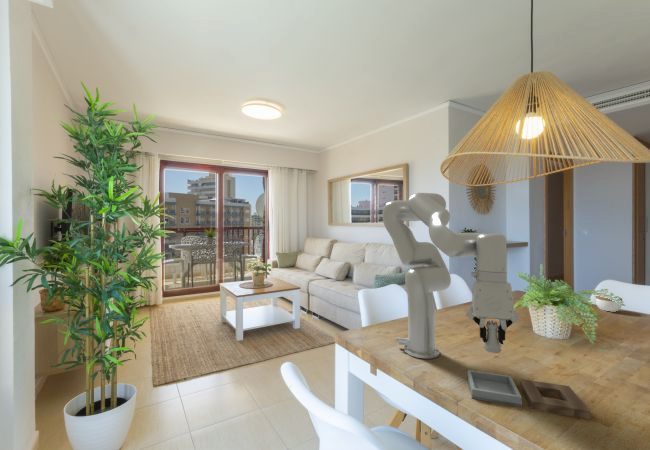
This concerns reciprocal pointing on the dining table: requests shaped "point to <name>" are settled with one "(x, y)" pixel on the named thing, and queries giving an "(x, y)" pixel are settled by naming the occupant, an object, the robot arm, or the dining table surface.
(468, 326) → the dining table surface
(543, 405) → the socket block
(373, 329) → the dining table surface
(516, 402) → the tray
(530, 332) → the dining table surface
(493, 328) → the rook chess piece
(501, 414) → the dining table surface
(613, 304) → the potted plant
